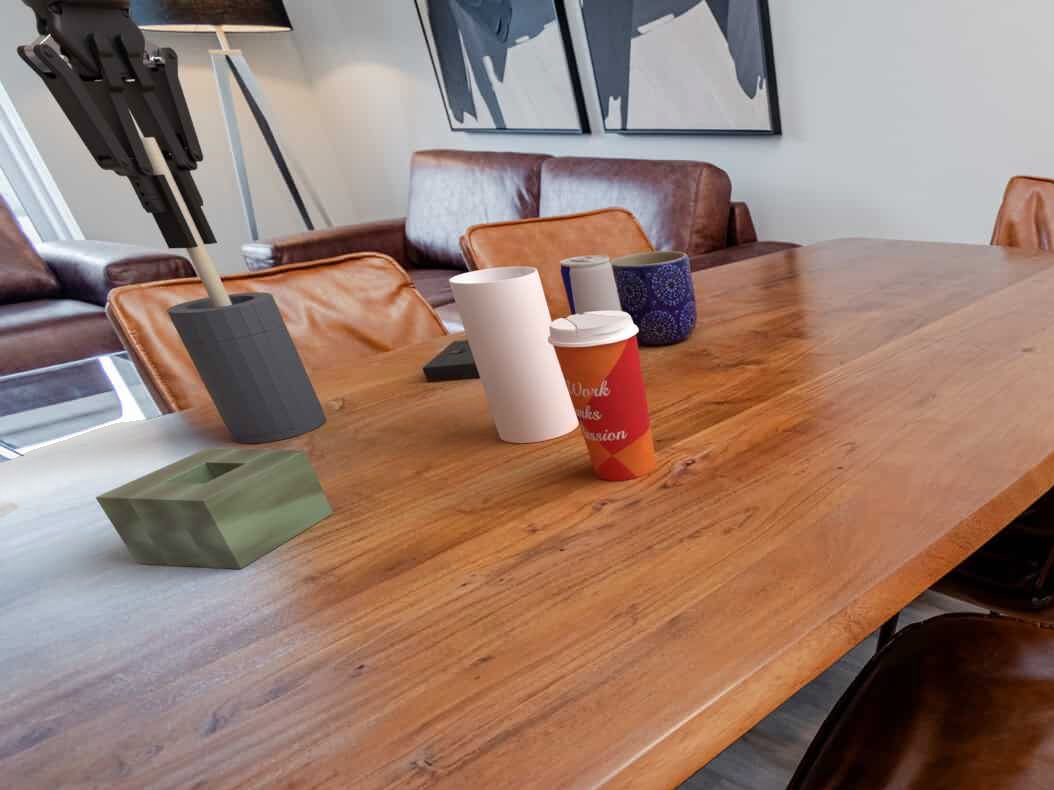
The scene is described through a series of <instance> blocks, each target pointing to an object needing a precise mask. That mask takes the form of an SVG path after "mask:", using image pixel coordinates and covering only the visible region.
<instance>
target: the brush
mask: <svg viewBox="0 0 1054 790" xmlns="http://www.w3.org/2000/svg"><path fill="white" fill-rule="evenodd" d="M140 138H141V141H142V143H143V145H144V148H145V150H146V153H147V155H148V158H149V160H150V163H151V165H152V168H153V173H152V175H162V174H164V175H165V177H166V179H167V182H168V184H169V186H170V188H171V190H172V192H173V194H174V196H175V199H176V201H177V203H178V205H179V207H180V209H181V211H182V213H183V216H184V218H185V220H186V222H187V224H188V226H189V228H190V230H191V233H192V235H193V237H194V239H195V241H196V243H197V245H198V247H194V248H185V250H186V252H187V253H188V256H189V259H190V260H191V262H192V264H193V266H194V269H195V271H196V273H197V274H198V277H199V279H200V281H201V283H202V286H203V287H204V289H205V291H206V294H207V296H208V297H209V298H210V300H211V302H212V304H213V306H214V308H215V307H222V306H228V305H232V303H231V301H230V299H229V296H228V295H229V293H228V292H227V290H226V288H225V285H224V284H223V282H222V280H221V277H220V275H219V273H218V271H217V268H216V267H215V264H214V263H213V260H212V258H211V256H210V254H209V252H208V250H207V247H206V244H204V243H203V241H202V239H201V236H200V234H199V232H198V230H197V228H196V226H195V224H194V221H193V219H192V217H191V215H190V213H189V211H188V209H187V206H186V204H185V202H184V200H183V198H182V196H181V194H180V191H179V189H178V187H177V185H176V183H175V181H174V179H173V176H172V174H171V172H170V170H169V168H168V166H167V164H166V161H165V159H164V157H163V155H162V153H161V151H160V149H159V146H158V144H157V142H156V140H155V138H154V137H148V138H144V137H140Z"/></svg>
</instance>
